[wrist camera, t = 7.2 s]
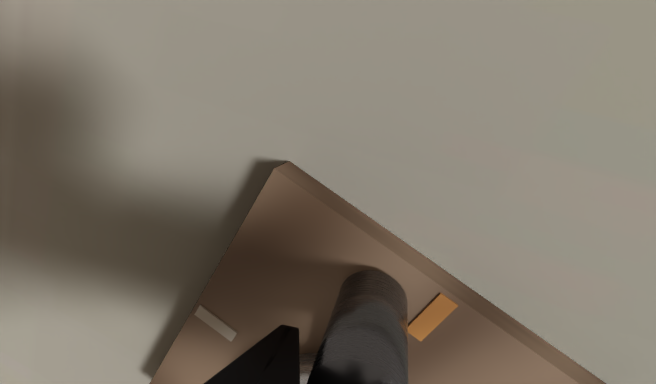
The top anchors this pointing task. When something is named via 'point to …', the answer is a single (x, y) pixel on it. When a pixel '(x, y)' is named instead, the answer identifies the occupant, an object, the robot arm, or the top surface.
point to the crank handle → (363, 335)
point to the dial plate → (323, 288)
